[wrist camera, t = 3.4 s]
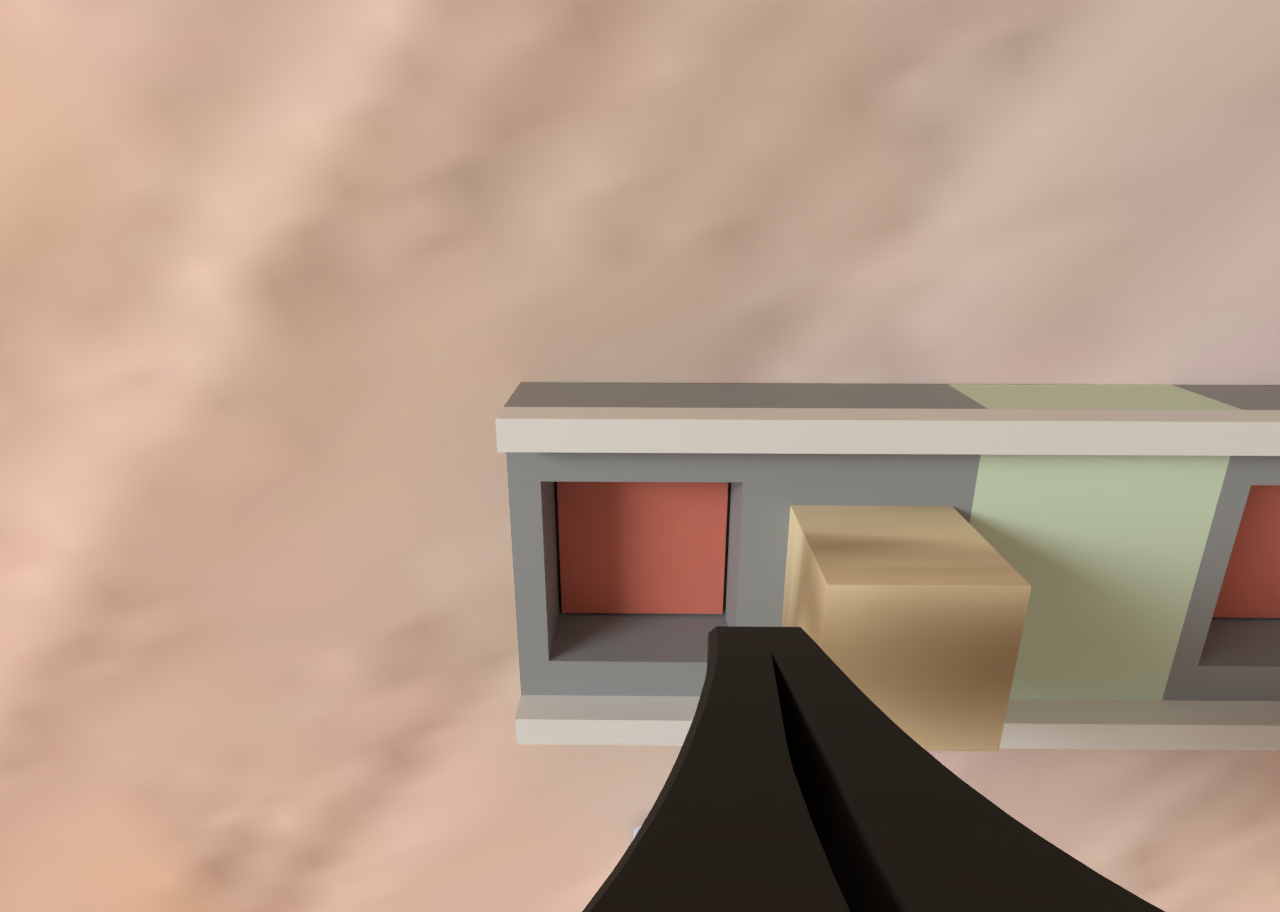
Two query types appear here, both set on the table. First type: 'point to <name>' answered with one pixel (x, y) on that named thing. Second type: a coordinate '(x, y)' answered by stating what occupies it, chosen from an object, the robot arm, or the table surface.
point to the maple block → (910, 615)
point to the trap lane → (904, 476)
